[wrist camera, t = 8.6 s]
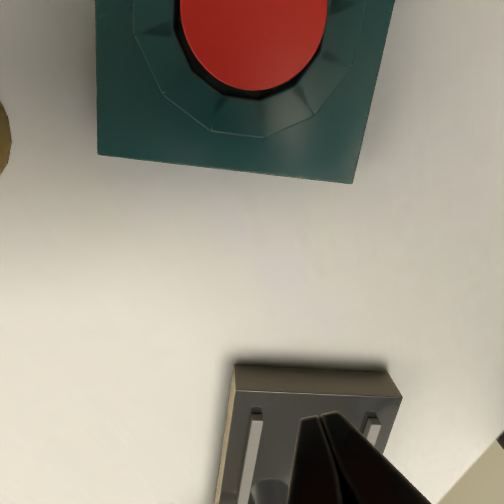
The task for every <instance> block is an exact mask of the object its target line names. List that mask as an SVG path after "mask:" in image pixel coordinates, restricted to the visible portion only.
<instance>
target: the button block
mask: <svg viewBox="0 0 504 504" xmlns="http://www.w3.org/2000/svg"><path fill="white" fill-rule="evenodd" d="M394 3H395V0H327V17H326V24H325V28H324V33H323V36H322V38H321V41H320V44H319V46H318V48H317V50H316V52H315V54H314V55H313V57H312V58H311V60H310V61H309V62H308V64H307V65H306V66H305V67H304V68H303V69H302V70H301V71H300V72H299V73H298V74H297V75H296V76H294V77H293V78H292V79H290V80H289V81H287V82H285V83H283V84H281V85H279V86H276V87H273V88H270V89H265V90H255V91H254V90H244V89H239V88H235V87H232V86H230V85H227V84H225V83H223V82H221V81H219V80H218V79H216V78H215V77H214V76H212V75H211V74H210V73H209V72H208V71H207V70H206V69H205V68H204V67H203V66H202V65H201V63H200V62H199V61H198V60H197V58H196V57H195V55H194V54H193V52H192V50H191V48H190V46H189V44H188V42H187V39H186V36H185V34H184V30H183V26H182V22H181V14H180V0H95V21H96V84H97V147H98V155H102V156H111V157H120V158H128V159H137V160H146V161H154V162H163V163H172V164H180V165H189V166H198V167H206V168H215V169H224V170H232V171H241V172H250V173H258V174H267V175H276V176H285V177H293V178H302V179H311V180H319V181H328V182H337V183H345V184H352V183H353V179H354V175H355V171H356V166H357V162H358V158H359V154H360V149H361V145H362V141H363V136H364V132H365V128H366V123H367V119H368V115H369V110H370V106H371V102H372V97H373V93H374V89H375V85H376V80H377V76H378V72H379V67H380V63H381V59H382V54H383V50H384V46H385V41H386V37H387V33H388V28H389V24H390V20H391V15H392V11H393V7H394Z"/></svg>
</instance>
